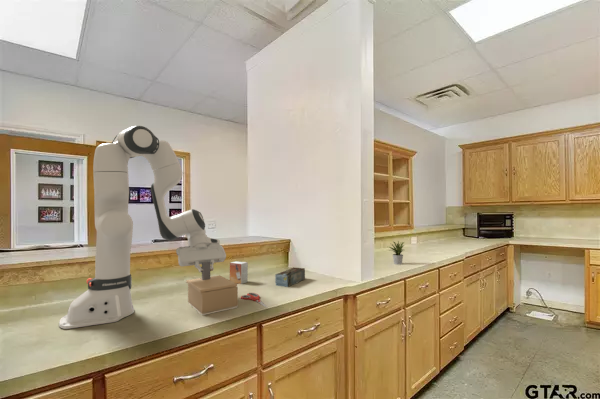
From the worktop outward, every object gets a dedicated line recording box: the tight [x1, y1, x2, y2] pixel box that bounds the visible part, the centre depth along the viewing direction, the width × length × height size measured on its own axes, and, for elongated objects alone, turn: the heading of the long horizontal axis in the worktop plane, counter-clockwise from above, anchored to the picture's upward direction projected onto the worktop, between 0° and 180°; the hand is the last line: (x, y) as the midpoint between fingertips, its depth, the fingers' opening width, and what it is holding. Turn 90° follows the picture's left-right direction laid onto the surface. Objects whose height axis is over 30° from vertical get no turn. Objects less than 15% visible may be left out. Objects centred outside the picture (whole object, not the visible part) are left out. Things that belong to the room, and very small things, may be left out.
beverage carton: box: [274, 267, 306, 288], centre depth 157 cm, size 8×19×7 cm, turn 151°
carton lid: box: [185, 262, 238, 293], centre depth 122 cm, size 15×19×8 cm
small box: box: [229, 260, 249, 285], centre depth 157 cm, size 8×6×10 cm
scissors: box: [240, 292, 269, 309], centre depth 125 cm, size 8×21×2 cm, turn 45°
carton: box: [187, 283, 239, 316], centre depth 120 cm, size 14×18×8 cm
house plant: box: [388, 240, 405, 265], centre depth 208 cm, size 14×14×16 cm
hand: (206, 270), depth 126 cm, fingers closed on carton lid, 3 cm apart
